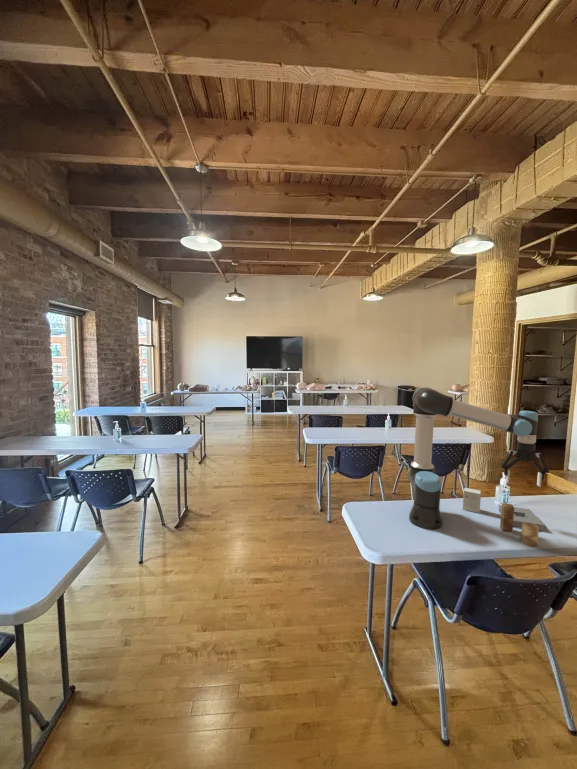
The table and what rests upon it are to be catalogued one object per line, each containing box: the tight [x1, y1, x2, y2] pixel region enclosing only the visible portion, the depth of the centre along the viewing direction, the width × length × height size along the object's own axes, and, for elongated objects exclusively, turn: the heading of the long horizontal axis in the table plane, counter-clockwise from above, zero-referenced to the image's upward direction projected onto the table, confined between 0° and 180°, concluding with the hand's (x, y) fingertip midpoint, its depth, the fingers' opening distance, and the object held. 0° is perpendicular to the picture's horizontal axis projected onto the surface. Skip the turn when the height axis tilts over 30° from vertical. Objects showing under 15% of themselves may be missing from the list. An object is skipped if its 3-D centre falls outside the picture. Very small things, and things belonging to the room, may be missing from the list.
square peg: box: [499, 502, 515, 533], centre depth 159 cm, size 4×4×12 cm
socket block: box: [498, 504, 545, 532], centre depth 170 cm, size 14×18×3 cm
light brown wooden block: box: [520, 522, 540, 548], centre depth 148 cm, size 6×6×8 cm
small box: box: [462, 487, 482, 514], centre depth 180 cm, size 8×6×10 cm
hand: (522, 484), depth 168 cm, fingers open, 13 cm apart
